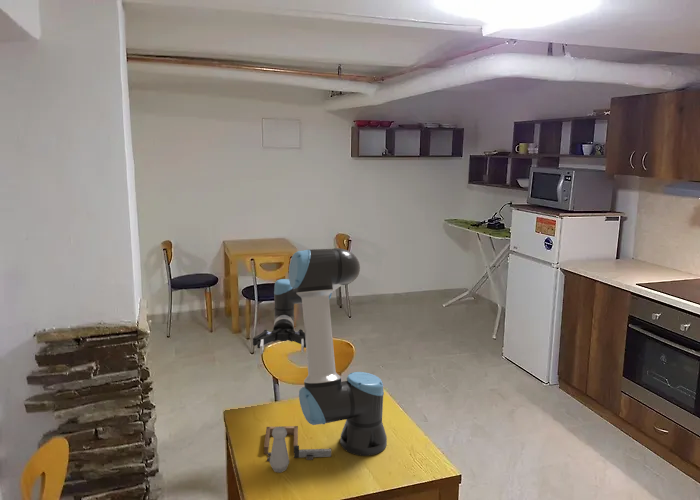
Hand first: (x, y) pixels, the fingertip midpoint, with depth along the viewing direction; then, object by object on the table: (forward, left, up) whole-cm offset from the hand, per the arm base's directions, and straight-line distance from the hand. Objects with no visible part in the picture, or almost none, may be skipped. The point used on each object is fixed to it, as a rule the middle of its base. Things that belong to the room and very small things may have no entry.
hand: (282, 349), depth 180 cm
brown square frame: (-7, +9, -29) cm, 31 cm away
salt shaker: (-10, +21, -29) cm, 37 cm away
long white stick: (-16, +12, -29) cm, 35 cm away
